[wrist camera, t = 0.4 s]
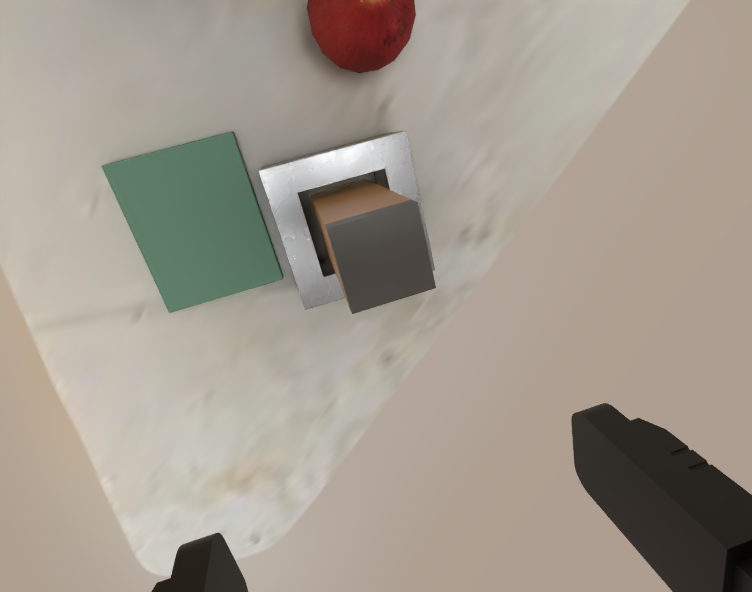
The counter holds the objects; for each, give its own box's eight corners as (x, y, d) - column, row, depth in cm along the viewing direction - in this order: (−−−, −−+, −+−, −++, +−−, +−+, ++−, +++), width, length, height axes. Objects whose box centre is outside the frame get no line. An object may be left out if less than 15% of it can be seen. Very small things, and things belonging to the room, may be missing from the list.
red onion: (389, -32, 27) (429, -98, 20) (403, 72, 29) (444, 48, 22) (295, -19, 26) (300, -83, 19) (316, 86, 28) (328, 67, 21)
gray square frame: (261, 167, 29) (258, 171, 26) (390, 132, 30) (406, 131, 26) (302, 290, 32) (305, 309, 29) (418, 255, 33) (435, 270, 30)
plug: (309, 194, 30) (327, 228, 18) (364, 178, 31) (417, 202, 19) (325, 249, 32) (352, 313, 20) (378, 233, 32) (436, 287, 20)
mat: (106, 165, 27) (101, 165, 27) (233, 132, 28) (231, 131, 27) (172, 308, 31) (169, 313, 30) (282, 275, 32) (282, 279, 31)
